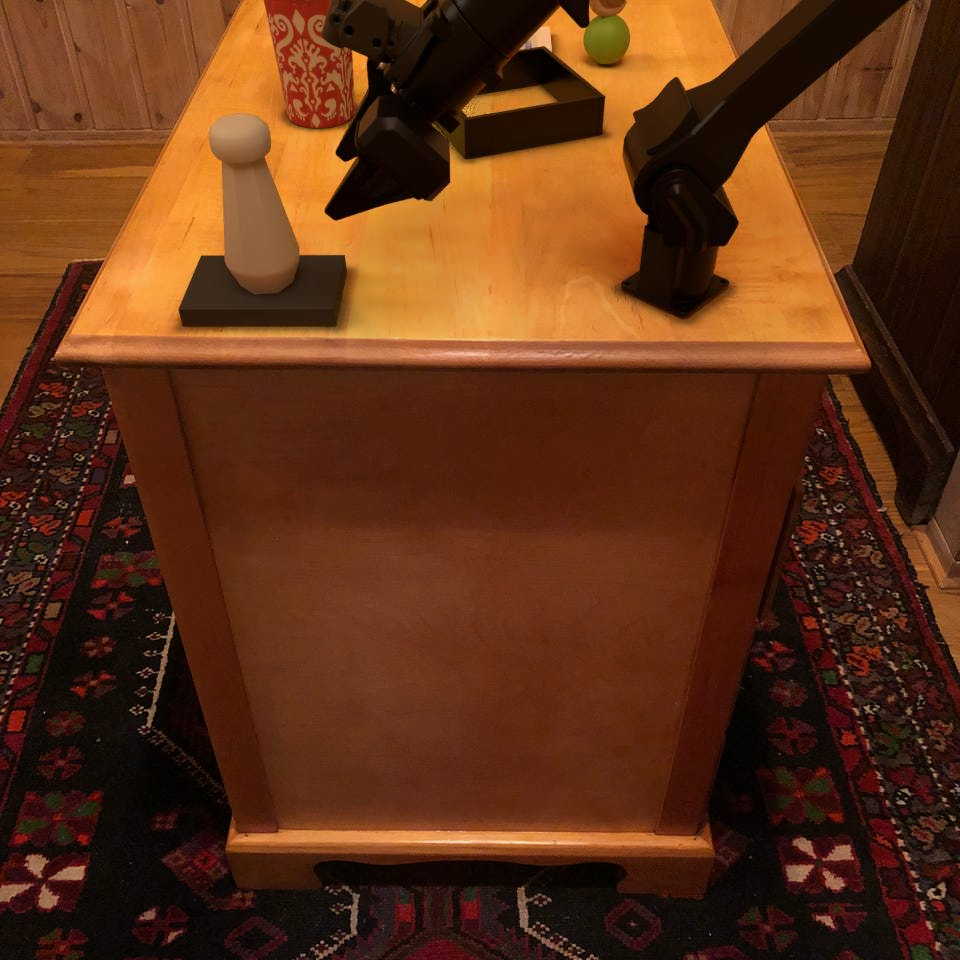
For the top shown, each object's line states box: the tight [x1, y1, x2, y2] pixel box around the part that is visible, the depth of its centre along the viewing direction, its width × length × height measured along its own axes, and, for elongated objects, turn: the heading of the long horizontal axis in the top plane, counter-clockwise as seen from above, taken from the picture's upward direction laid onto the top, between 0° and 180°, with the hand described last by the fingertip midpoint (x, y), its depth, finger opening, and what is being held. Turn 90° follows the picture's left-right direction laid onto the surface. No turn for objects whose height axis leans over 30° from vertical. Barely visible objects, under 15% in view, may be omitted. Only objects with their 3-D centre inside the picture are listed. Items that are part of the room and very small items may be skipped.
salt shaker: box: [208, 113, 300, 295], centre depth 71 cm, size 6×6×13 cm
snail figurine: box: [582, 0, 631, 65], centre depth 108 cm, size 5×6×12 cm
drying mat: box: [178, 254, 348, 327], centre depth 76 cm, size 8×12×2 cm, turn 90°
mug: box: [263, 0, 356, 129], centre depth 99 cm, size 13×9×14 cm
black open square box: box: [434, 46, 606, 160], centre depth 100 cm, size 15×15×4 cm
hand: (335, 185), depth 70 cm, fingers open, 9 cm apart
